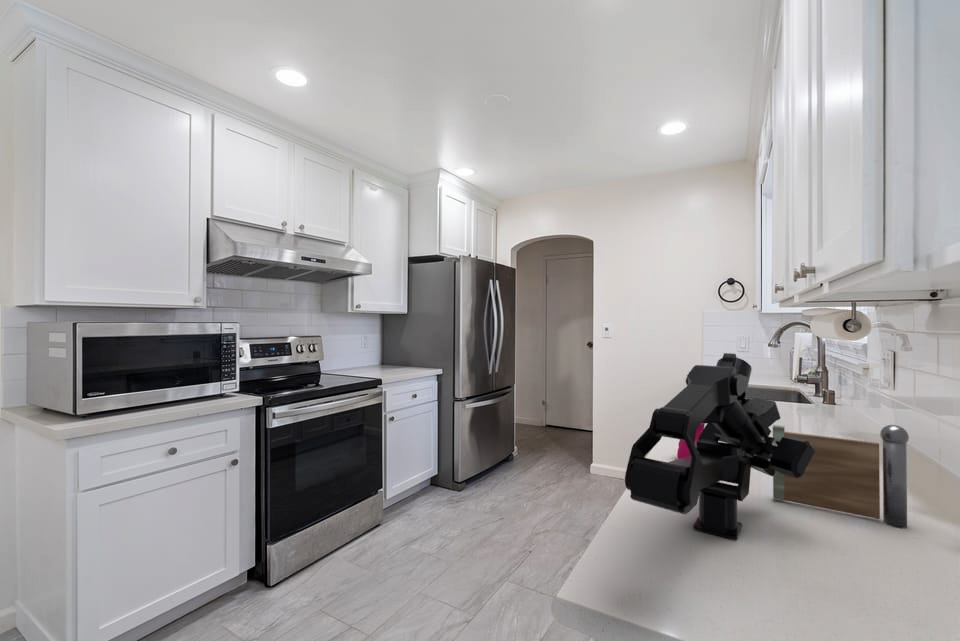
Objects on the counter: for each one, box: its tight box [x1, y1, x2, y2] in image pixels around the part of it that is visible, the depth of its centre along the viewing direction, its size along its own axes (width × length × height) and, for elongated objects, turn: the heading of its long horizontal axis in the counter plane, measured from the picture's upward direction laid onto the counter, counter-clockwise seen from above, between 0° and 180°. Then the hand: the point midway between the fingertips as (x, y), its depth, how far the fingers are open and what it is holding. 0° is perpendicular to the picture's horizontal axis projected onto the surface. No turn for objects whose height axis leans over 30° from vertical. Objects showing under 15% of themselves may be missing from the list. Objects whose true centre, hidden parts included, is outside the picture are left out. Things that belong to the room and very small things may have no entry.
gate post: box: [879, 424, 910, 529], centre depth 77 cm, size 4×4×17 cm
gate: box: [772, 424, 881, 520], centre depth 83 cm, size 2×16×14 cm, turn 53°
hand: (772, 473), depth 83 cm, fingers closed
